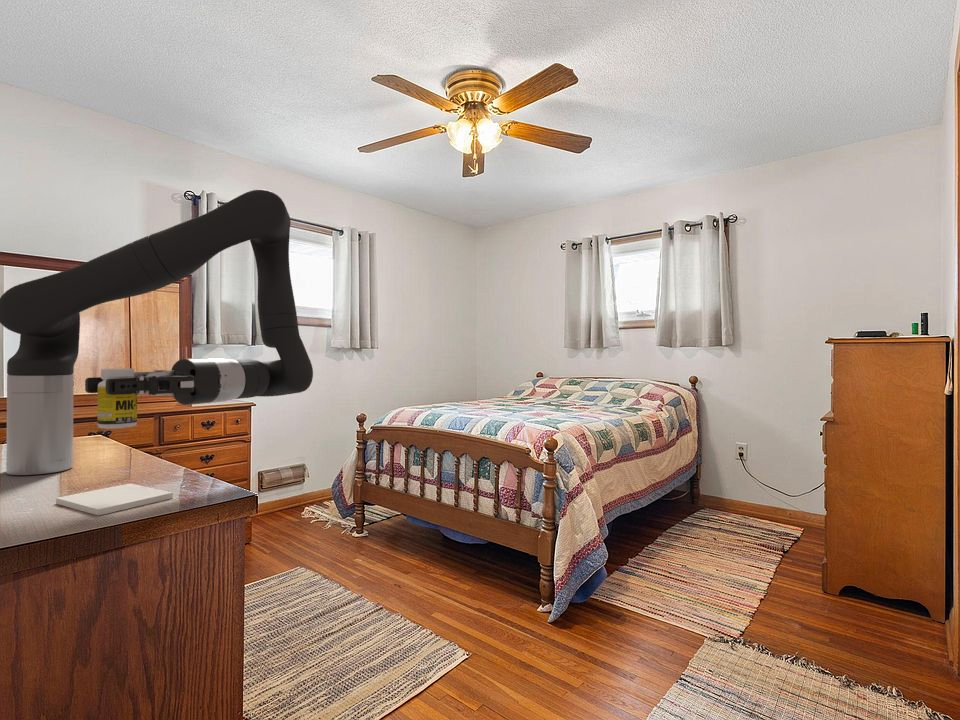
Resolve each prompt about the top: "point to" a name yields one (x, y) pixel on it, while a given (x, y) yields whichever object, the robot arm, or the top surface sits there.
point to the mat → (113, 498)
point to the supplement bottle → (116, 402)
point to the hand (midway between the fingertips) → (97, 386)
